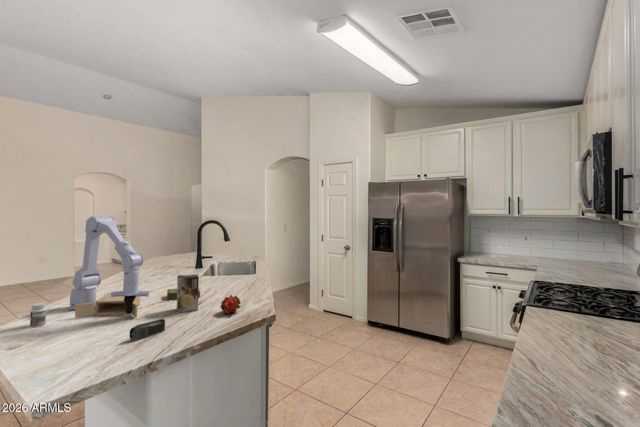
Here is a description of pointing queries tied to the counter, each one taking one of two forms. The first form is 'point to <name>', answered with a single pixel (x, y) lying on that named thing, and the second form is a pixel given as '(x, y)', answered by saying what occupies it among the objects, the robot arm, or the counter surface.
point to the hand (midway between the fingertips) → (129, 312)
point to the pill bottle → (38, 315)
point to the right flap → (134, 310)
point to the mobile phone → (147, 329)
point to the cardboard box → (112, 305)
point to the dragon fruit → (230, 304)
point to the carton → (173, 294)
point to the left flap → (84, 309)
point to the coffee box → (187, 292)
